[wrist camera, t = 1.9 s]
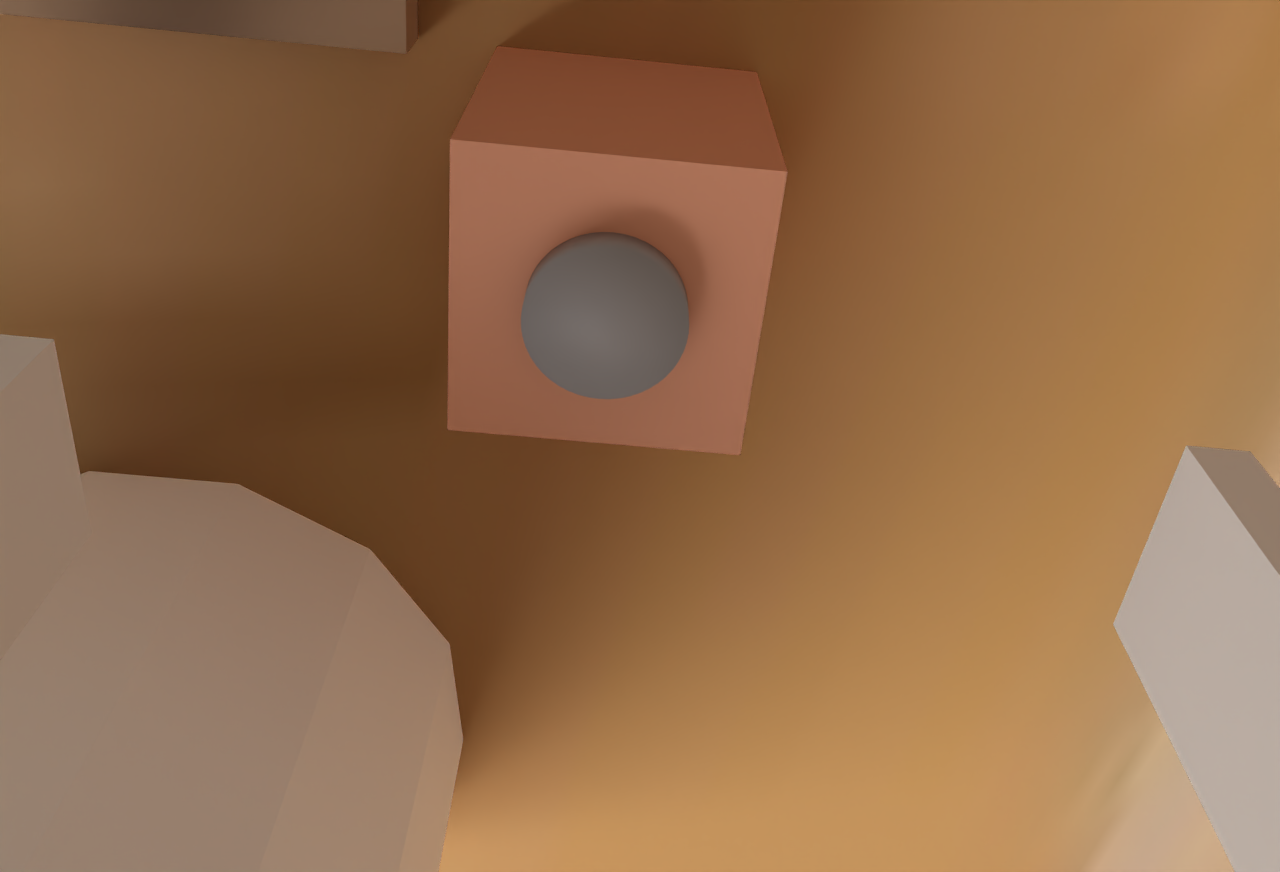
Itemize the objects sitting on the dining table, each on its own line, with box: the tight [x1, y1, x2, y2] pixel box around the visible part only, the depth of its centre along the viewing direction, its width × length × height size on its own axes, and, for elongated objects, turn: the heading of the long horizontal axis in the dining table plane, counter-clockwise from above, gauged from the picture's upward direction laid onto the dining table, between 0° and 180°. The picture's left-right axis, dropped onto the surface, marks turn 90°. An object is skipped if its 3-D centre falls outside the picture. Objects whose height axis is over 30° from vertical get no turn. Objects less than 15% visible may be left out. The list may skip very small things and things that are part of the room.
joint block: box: [447, 46, 788, 455], centre depth 21 cm, size 5×5×7 cm
